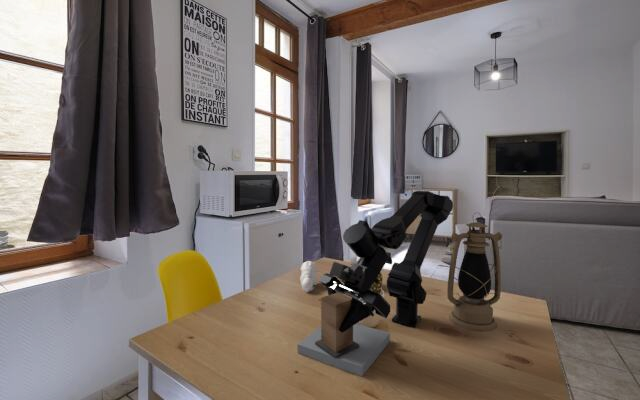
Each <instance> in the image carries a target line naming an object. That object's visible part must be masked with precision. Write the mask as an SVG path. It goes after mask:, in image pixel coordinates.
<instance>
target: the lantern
mask: <svg viewBox="0 0 640 400" xmlns="http://www.w3.org/2000/svg"><path fill="white" fill-rule="evenodd" d="M475 214H476V212H474V213H473V214H472V216H474V215H475ZM478 214H479V219H481V217H482V216H481V214H480V212H478ZM472 221H473V222H470V223H467V224H466V225H465V226H467V227H468V230H467V232H463V233H462V232H461V233H459V234H458V233H456V232H455V231H454V232H453V233H452V234H451V239H452V240H453V242H452V243H453V244H452V246H451V247H450V251H451V253H450V262H449V270H448V280H447V291H446V292H447V294H446V295H447V296H446V297H447V299H448V300H449V302H450V303H451V304H453V310H452V311H451V312H450V313H449V315H448V319H449V321H450V322H452V323H453V324H454V325H456V326H459V327H461V328H462V329H465V330H469V331H475V332H490V331H493V330H496V329H497V328H498V322H497V321H496V319H495V318H494V317H493V316H494V315H493V314H494V308H493V307H492V305H494V304H497V302H498V301H499V300H500V299H501V291H502V290H501V289H502V288H501V287H502V286H501V285H502V284H501V283H502V281H501V277H502V275H501V274H502V273H501V259H500V258H501V257H500V249H501V250H502V247H503V245H502V242H503V241H502V239H503V234H502V233H501V231H497V232H496V233H495V234H493V233H490V232H485V228H487V227H488V225H487V224H485V223H481V220H479V221H478V222H477V221H476V222H474V218H472ZM475 228H479V229H475ZM463 239H466V240H464V241H463ZM486 239H490V241H491V245H492V254H493V264H490V263H489V261H488V257H487V254H486V253H487V251H486V248H487V247H490V246H491V245H490V243H488V242H487V241H486ZM499 241H500V246H499V243H498V242H499ZM461 242H462V244H463V245H465V246H466V248H465V253H464V255H463V258H462V262H461V265H460V268H459V267H457V259H458V255H459V248H460V246H461ZM490 266H492V267H491V269H490ZM493 268H494V273H493V274H492V276H491V272H492V270H493ZM456 269H458V270H459V273H458V277H457V278H456V277H455V273H456ZM493 276H494V292H491V290H492V278H493ZM455 280H456V281H457V285H458V288H459V290H460V292H461V293H462V295H460V294H459V293H457V295H458V296H459V297H458V298H457V299H456V298H455V297H454V283H455ZM490 292H491V293H490ZM489 294H492V295H493V297H491V298H490V299H487V297H488V296H489Z"/></svg>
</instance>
